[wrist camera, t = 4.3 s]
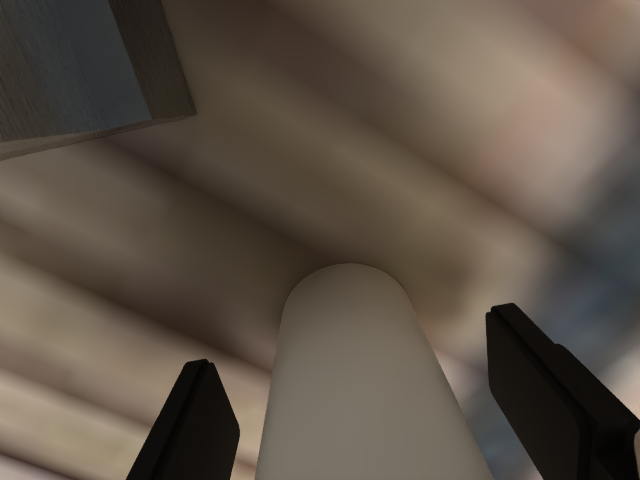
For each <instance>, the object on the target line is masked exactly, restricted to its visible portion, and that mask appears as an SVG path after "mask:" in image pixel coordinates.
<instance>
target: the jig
mask: <svg viewBox="0 0 640 480" xmlns="http://www.w3.org/2000/svg"><path fill="white" fill-rule="evenodd" d="M195 115H197V114H196V111H195V108H194V105H193V102H192V99H191V96H190V92H189V89H188V86H187V83H186V80H185V77H184V74H183V71H182V68H181V64H180V61H179V58H178V55H177V52H176V49H175V46H174V43H173V40H172V36H171V33H170V30H169V27H168V24H167V21H166V18H165V15H164V12H163V8H162V5H161V2H160V0H0V161H1V160H6V159H10V158H14V157H18V156H23V155H27V154H31V153H36V152H40V151H44V150H49V149H53V148H57V147H61V146H66V145H70V144H74V143H79V142H83V141H87V140H92V139H96V138H100V137H104V136H109V135H113V134H117V133H122V132H126V131H130V130H135V129H139V128H143V127H148V126H152V125H156V124H160V123H165V122H169V121H173V120H178V119H182V118H186V117H191V116H195Z"/></svg>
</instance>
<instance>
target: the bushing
mask: <svg viewBox="0 0 640 480" xmlns="http://www.w3.org/2000/svg"><path fill="white" fill-rule="evenodd" d="M255 480H494V478H493V476H492V474H491V472H490V470H489V468H488V466H487V464H486V461H485V459H484V457H483V455H482V453H481V451H480V449H479V447H478V444H477V442H476V440H475V438H474V436H473V434H472V432H471V430H470V427H469V425H468V423H467V421H466V419H465V417H464V415H463V413H462V410H461V408H460V406H459V404H458V402H457V400H456V398H455V396H454V393H453V391H452V389H451V387H450V385H449V383H448V381H447V379H446V377H445V374H444V372H443V370H442V368H441V366H440V364H439V362H438V360H437V357H436V355H435V353H434V351H433V349H432V347H431V345H430V343H429V340H428V338H427V336H426V334H425V332H424V330H423V328H422V326H421V323H420V321H419V319H418V317H417V315H416V313H415V311H414V309H413V306H412V304H411V302H410V300H409V298H408V296H407V294H406V292H405V291H404V289H403V288H402V287H401V285H400V284H399V283H398V282H397V281H396V280H395V279H394V278H393V277H391V276H390V275H388V274H387V273H385V272H383V271H381V270H379V269H377V268H374V267H371V266H368V265H363V264H356V263H342V264H335V265H331V266H327V267H324V268H321V269H319V270H317V271H315V272H313V273H311V274H309V275H308V276H306V277H305V278H304V279H302V280H301V281H300V282H299V283H298V284H297V285H296V286H295V287H294V289H293V290H292V291H291V293H290V294H289V296H288V298H287V300H286V302H285V305H284V309H283V313H282V319H281V325H280V331H279V337H278V343H277V349H276V355H275V361H274V367H273V373H272V379H271V385H270V391H269V397H268V403H267V409H266V415H265V421H264V427H263V433H262V439H261V445H260V451H259V457H258V463H257V469H256V475H255Z"/></svg>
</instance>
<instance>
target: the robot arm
mask: <svg viewBox="0 0 640 480" xmlns="http://www.w3.org/2000/svg"><path fill="white" fill-rule="evenodd" d="M486 336H487V357H488V377H489V386H490V390H491V393H492V395H493V397H494V398H495V400H496V402H497V403H498V405H499V407H500V408H501V410H502V412H503V413H504V415H505V417H506V418H507V420H508V422H509V423H510V425H511V427H512V428H513V430H514V431H515V433H516V435H517V436H518V438H519V440H520V441H521V443H522V445H523V446H524V448H525V450H526V451H527V453H528V455H529V456H530V458H531V460H532V461H533V463H534V465H535V466H536V468H537V470H538V471H539V473H540V474H541V476H542V478H543V479H544V480H640V420H639V419H638V418H637V417H636V416H635V415H634V414H633V413H632V412H631V411H630V410H629V409H628V408H627V407H626V406H625V405H624V404H623V403H622V402H621V401H620V400H619V399H618V398H617V397H616V396H615V395H614V394H613V393H612V392H610V391H609V390H608V389H607V388H606V387H605V386H604V385H603V384H602V383H601V382H600V381H599V380H598V379H597V378H596V377H595V376H594V375H593V374H592V373H591V372H590V371H589V370H588V369H587V368H586V367H585V366H584V365H583V364H582V363H581V362H580V361H579V360H578V359H577V358H576V357H575V356H574V355H573V354H572V353H571V352H570V351H569V350H567V349H566V348H565V347H564V346H562V345H560V344H554V343H553V342H552V341H551V340H550V339H549V338H548V337H547V336H546V335H545V334H544V333H543V332H542V331H541V330H540V329H539V328H538V327H537V326H536V325H535V324H534V322H533V321H532V320H531V319H530V318H529V317H528V316H527V315H526V314H525V313H524V312H523V311H522V310H521V309H520V308H519V307H518V306H517V305H515V304H514V303H508V304H502V305H497V306H493V307H492V308H491V312H487V313H486ZM239 437H240V429H239V424H238V422H237V419H236V417H235V414H234V412H233V409H232V407H231V404H230V402H229V399H228V397H227V394H226V392H225V389H224V387H223V384H222V382H221V379H220V377H219V374H218V372H217V369H216V367H215V365H214V363H209V362H208V360H207V359H201V360H195V361H190V362H187V363H186V364H185V365H184V367H183V369H182V371H181V373H180V375H179V377H178V379H177V381H176V383H175V385H174V386H173V388H172V390H171V392H170V394H169V396H168V398H167V400H166V402H165V404H164V406H163V408H162V410H161V412H160V414H159V416H158V418H157V419H156V421H155V423H154V425H153V427H152V429H151V431H150V433H149V435H148V437H147V439H146V441H145V443H144V445H143V447H142V449H141V451H140V453H139V455H138V457H137V458H136V460H135V462H134V464H133V466H132V468H131V470H130V472H129V474H128V476H127V478H126V480H230V477H231V472H232V468H233V464H234V459H235V455H236V451H237V447H238V442H239Z"/></svg>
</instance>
